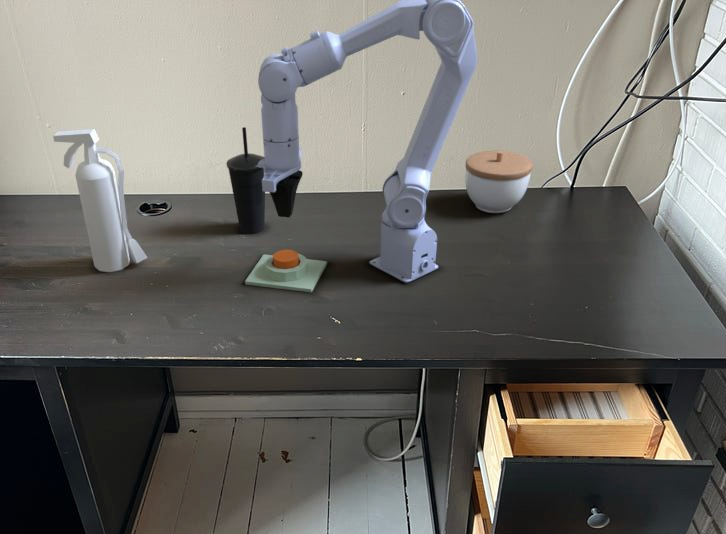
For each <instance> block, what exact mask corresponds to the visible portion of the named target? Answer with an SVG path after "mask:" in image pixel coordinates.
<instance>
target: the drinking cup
mask: <svg viewBox="0 0 726 534" xmlns="http://www.w3.org/2000/svg"><path fill="white" fill-rule="evenodd" d="M241 130H242V142H243V143H242V144H243V153H241V154H237V155H235V156H233V157H231V158H229V159H228V160H226V163H225V164H226V168H227V169H228V173H229V179H230V184H231V190H232V195H233V200H234V204H235V210H236V216H237V220H238V227H239V231H240V232H241V233H243V234H246V235H256V234H259V233H261V232H263V231H264V230H265V223H266V221H265V220H266V219H265V218H266V217H265V216H266V192H264V191H263V189H262V179H263V178H264V168H259V167H258V163H259V161H260V160H262V159H264V155H261V154H255V153H249V149H248V137H247V127H245V126H243V127H242V128H241Z"/></svg>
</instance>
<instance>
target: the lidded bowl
mask: <svg viewBox="0 0 726 534" xmlns="http://www.w3.org/2000/svg"><path fill="white" fill-rule="evenodd" d="M533 166H534V164H533V161H532V160H531V159H530V158H529V156H526V155H524V154H521V153H519V152H515V151H510V150H498V149H497V150H484V151H479V152H476V153H473V154H470V155H469V156H467V158H466V160H465V173H464V174H465V176H464V180H465V182H464V183H465V190H466V192H467V196H468V198H469V199H470V201H471V202H472V203H473V204H474V205H475V207H476V209H478V210H480V211H482V212H484V213H485V212H486V213H491V214H500V213H506V212H508V211H510V210H511V209H513V207H515V205H517V204H518V203H519V202H520V201H521V200H522V199H523V197H524V196H525V194H526V193H527V190H528V188H529V184H530V179H531V175H532V171H533Z"/></svg>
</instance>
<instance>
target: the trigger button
mask: <svg viewBox="0 0 726 534" xmlns="http://www.w3.org/2000/svg"><path fill="white" fill-rule="evenodd" d="M298 254H299V252H297V251H295V250H292V249H281V250H278V251H276V252H275V253H273V254H272V255H273V264H274V267H276V268H278V269H290V268H294V267H296V266H298V264H299V259H298Z"/></svg>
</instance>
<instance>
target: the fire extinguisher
mask: <svg viewBox="0 0 726 534" xmlns="http://www.w3.org/2000/svg"><path fill="white" fill-rule="evenodd" d="M52 138H53V142H54V143H70V144H72V145H70V146H69V147H68V149H67V150H66V152H65V154H64V155H63V166H64V167H65V168H67V169H70V168H72V167H73V166H74V161H75V155H76V153H77V151H78V150H79V148H80V147H81V146H82V145H83V153H84V157H83V158H84V160H83V161H82V162H80V163H78V164H77V168H76V171H75V174H74V175H75V180H76V185H77V189H78V190H77V191H78V195H79V200H80V204H81V209H82V214H83V219H84V223H85V228H86V233H87V238H88V242H89V243H88V244H89V247H90V252H91V256H92V262H93V267H94V268H95V269H96V270H98V271H99V272H104V273H105V272H106V273H113V272H118V271H122V270H124V269H125V268H126V267H128V266H129V265H130V261H131V260H132V261H133V262H134V263H135V264H138V263H141V262H142V261H144V260H146V259H149V258H148V257H149V256H148V255H146V253H145V252H144V249H142V247H141V246H140V244H139V242H138V241H137V239H134V238H133V237H132V235H131V233H130V230H129V229H128V221H127V212H126V202H125V201H126V200H125V192H124V180H125V179H124V178H125V170H124V166H123V164H122V161H121V158H120V155H119V154H117V153H115V152H114V151H112V150H111V149H109V148H107V147H102V146H101V147H100V146H99V147H98V146H97V145H96V144H97V142H99V141H100V137H99V136H98V133H97V131H96V129H95V128H87V129H73V130H72V129H71V130H58V131H57V132H56V133H55V134H53V136H52ZM100 154H106V155H108V156H109V157H111V158H113V159H114V160H115V164H116V167H117V171H118V172H117V173H118V175H117V177H118V178H116V170H115V168H114V166H113V165H112V164H111V162H110V161H108V160H106V159H103V158H101V156H100ZM130 257H131V259H130Z"/></svg>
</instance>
